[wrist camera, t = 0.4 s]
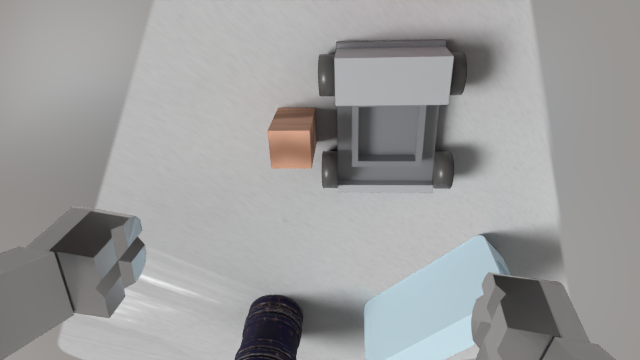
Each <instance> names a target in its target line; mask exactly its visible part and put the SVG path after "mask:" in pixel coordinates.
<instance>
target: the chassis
mask: <svg viewBox="0 0 640 360" xmlns="http://www.w3.org/2000/svg"><path fill="white" fill-rule="evenodd" d="M466 76H467V61H466V55H465V53H464V52H450V51H449V50H448V49H447V48H446V42H445V40H401V41H353V42H336V52H335V54H320V55H319V61H318V83H319V95H320V96H335V106H337V133H338V151H323V154H322V186H323V188H338V192H355V193H432V191H433V188H448V189H450V188H451V186H452V183H453V177H454V162H453V156H452V153H451V151H435V145H436V135H437V125H438V115H439V105H448V104H449V95H461V94H462V93H463V91H464V88H465V83H466Z"/></svg>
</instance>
